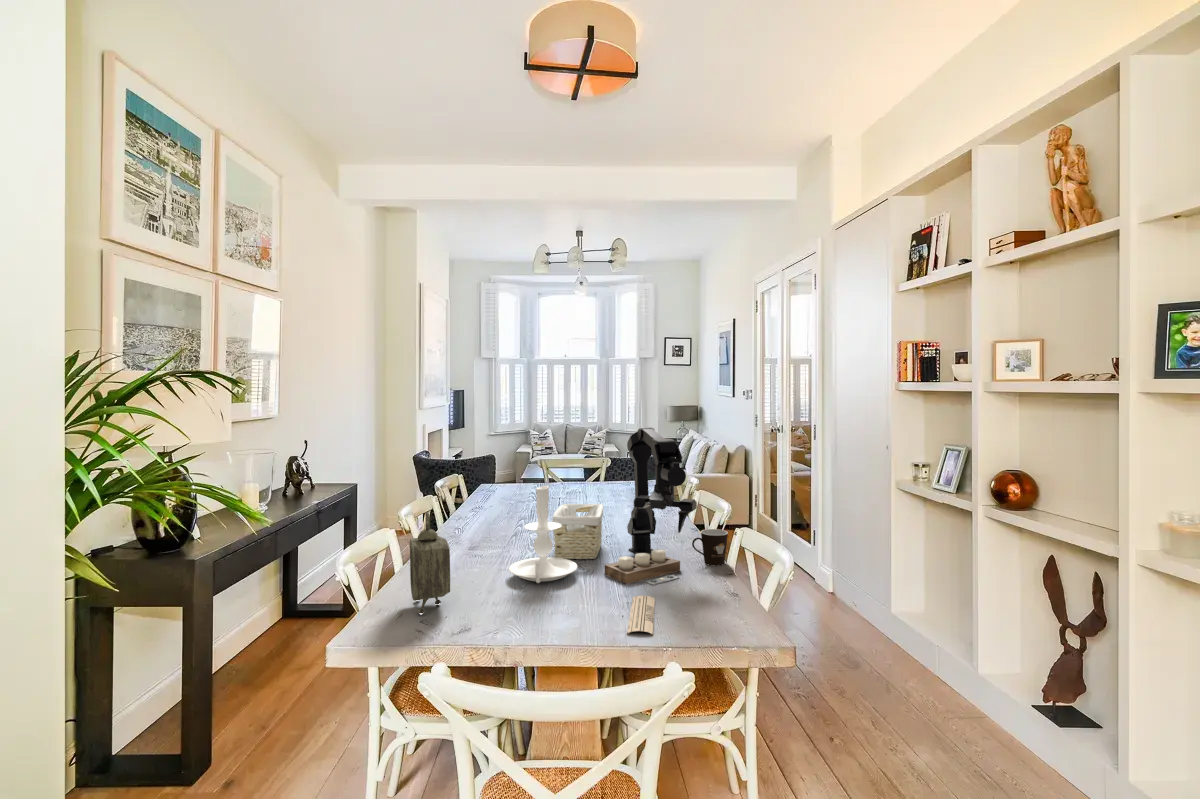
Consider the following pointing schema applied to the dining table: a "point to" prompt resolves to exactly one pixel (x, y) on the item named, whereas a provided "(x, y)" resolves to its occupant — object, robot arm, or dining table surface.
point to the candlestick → (542, 548)
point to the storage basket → (578, 531)
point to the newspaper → (642, 614)
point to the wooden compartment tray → (642, 570)
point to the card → (661, 579)
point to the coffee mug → (713, 546)
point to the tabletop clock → (429, 566)
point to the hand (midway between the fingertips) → (664, 531)
